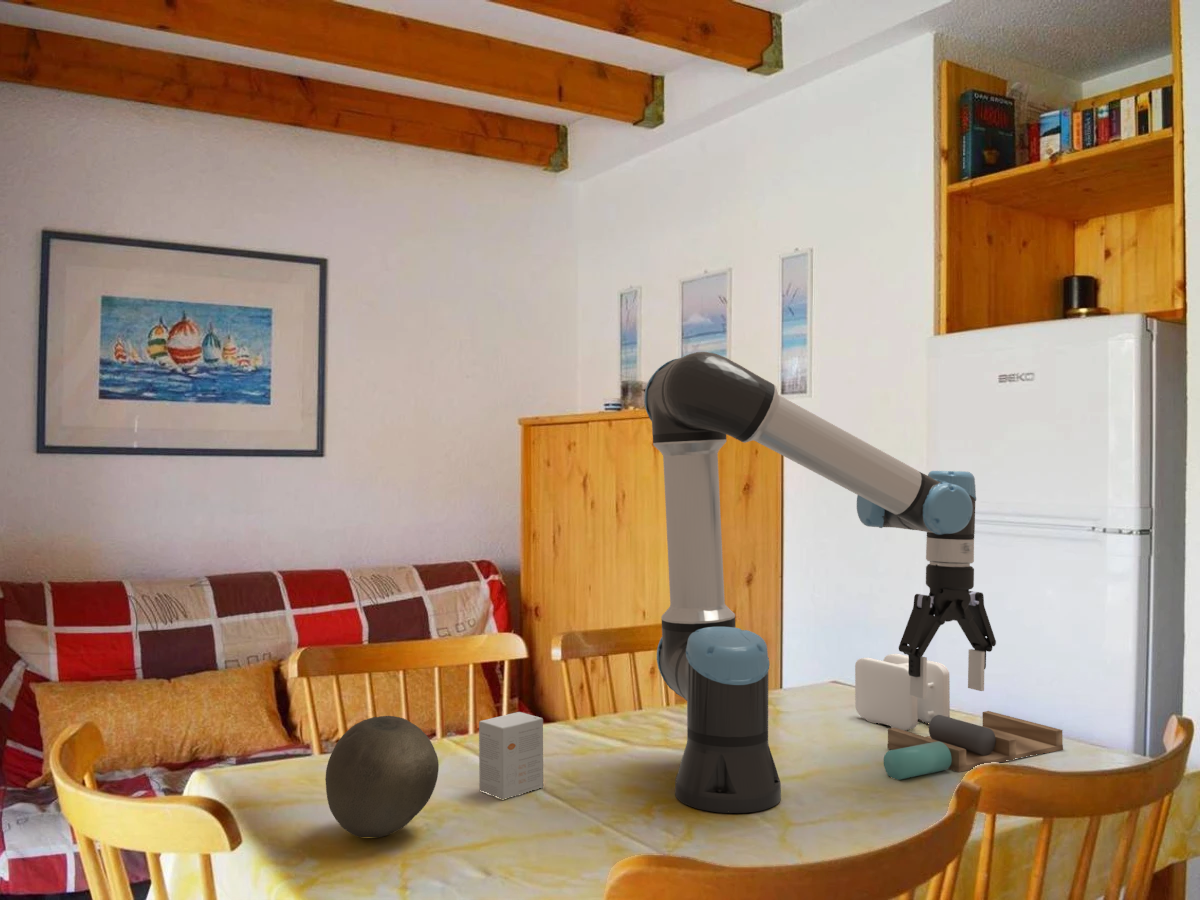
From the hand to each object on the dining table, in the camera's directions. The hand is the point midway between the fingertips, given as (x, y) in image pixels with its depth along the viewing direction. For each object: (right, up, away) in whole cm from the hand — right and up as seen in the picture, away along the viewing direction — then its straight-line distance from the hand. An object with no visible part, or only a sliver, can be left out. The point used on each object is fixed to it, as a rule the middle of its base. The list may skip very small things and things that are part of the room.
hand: (947, 693), depth 168 cm
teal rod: (-8, -10, -11) cm, 17 cm away
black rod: (+2, -9, 0) cm, 9 cm away
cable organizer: (-2, -11, +21) cm, 23 cm away
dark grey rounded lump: (-86, -10, -36) cm, 93 cm away
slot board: (+6, -10, +3) cm, 12 cm away
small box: (-70, -10, -18) cm, 73 cm away
